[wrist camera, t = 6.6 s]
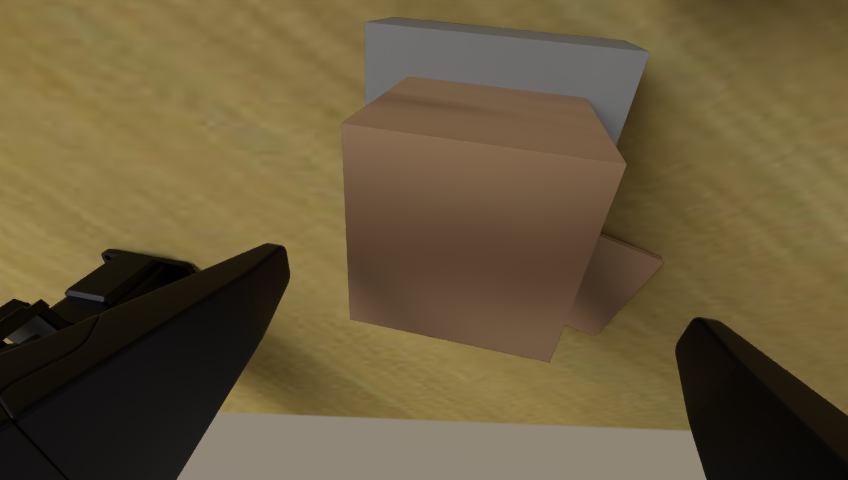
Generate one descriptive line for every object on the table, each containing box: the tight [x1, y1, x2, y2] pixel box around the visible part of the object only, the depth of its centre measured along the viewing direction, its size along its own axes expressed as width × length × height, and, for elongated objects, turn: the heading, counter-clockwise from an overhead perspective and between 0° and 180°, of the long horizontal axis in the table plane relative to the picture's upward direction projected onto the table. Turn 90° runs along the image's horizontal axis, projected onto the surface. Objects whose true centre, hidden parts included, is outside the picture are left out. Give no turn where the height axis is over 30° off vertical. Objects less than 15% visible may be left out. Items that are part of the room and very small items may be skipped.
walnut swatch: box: [565, 233, 664, 336], centre depth 21 cm, size 6×6×1 cm
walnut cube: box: [341, 76, 627, 363], centre depth 12 cm, size 6×6×6 cm
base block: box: [365, 17, 650, 146], centre depth 16 cm, size 9×9×4 cm
